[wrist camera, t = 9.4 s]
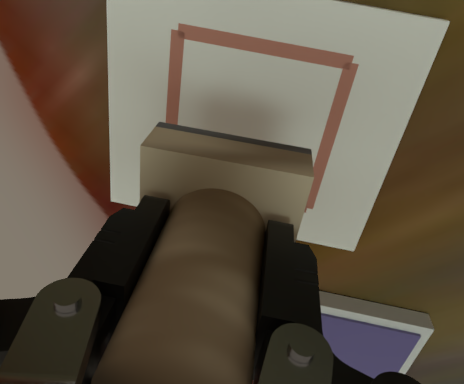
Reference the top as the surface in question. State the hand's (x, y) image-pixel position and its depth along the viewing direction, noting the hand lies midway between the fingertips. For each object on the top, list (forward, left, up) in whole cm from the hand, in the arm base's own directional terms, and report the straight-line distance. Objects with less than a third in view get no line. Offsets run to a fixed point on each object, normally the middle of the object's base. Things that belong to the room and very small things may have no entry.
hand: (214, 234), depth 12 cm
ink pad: (-8, +14, -9) cm, 19 cm away
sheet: (0, 0, -9) cm, 9 cm away
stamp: (0, 0, -2) cm, 2 cm away
